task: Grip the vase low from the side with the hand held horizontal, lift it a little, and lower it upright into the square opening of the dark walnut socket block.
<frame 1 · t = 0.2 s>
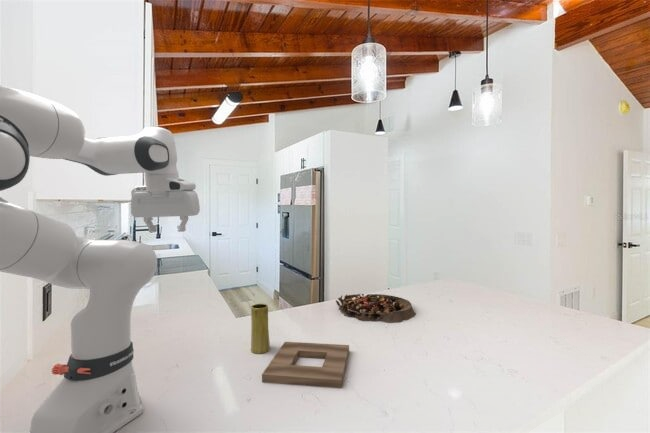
hand: (167, 231, 95), 39 cm above the counter, tool pointing down, fingers open, 8 cm apart
food dish: (374, 311, 142), on the counter
socket: (309, 365, 93), on the counter
vase: (260, 350, 104), on the counter
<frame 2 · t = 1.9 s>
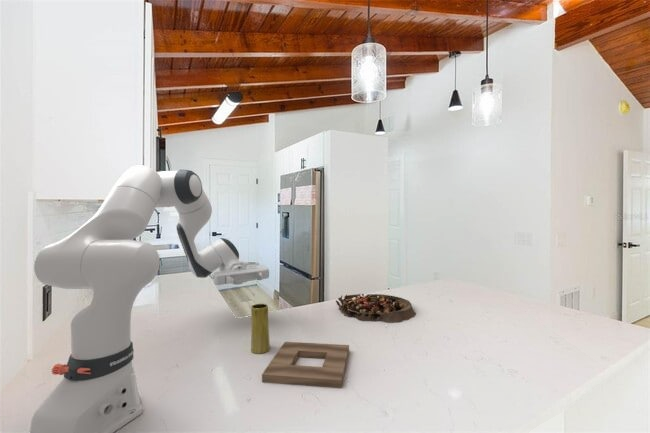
hand: (247, 279, 114), 21 cm above the counter, tool horizontal, fingers open, 8 cm apart
nothing on the counter moved.
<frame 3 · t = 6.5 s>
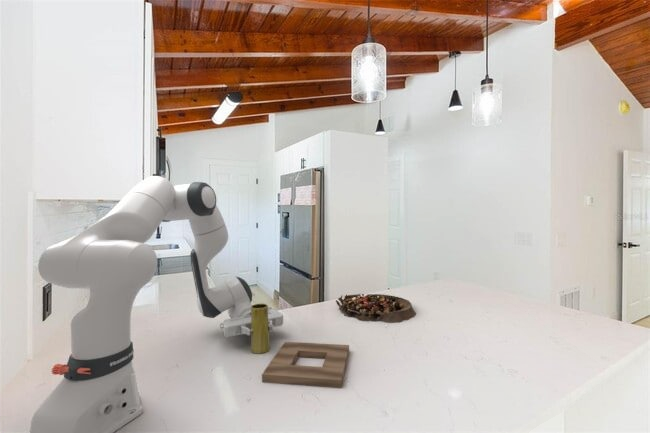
hand: (261, 330, 103), 7 cm above the counter, tool horizontal, fingers closed on vase, 5 cm apart
vase: (260, 350, 104), on the counter, touching gripper
everything else where it was.
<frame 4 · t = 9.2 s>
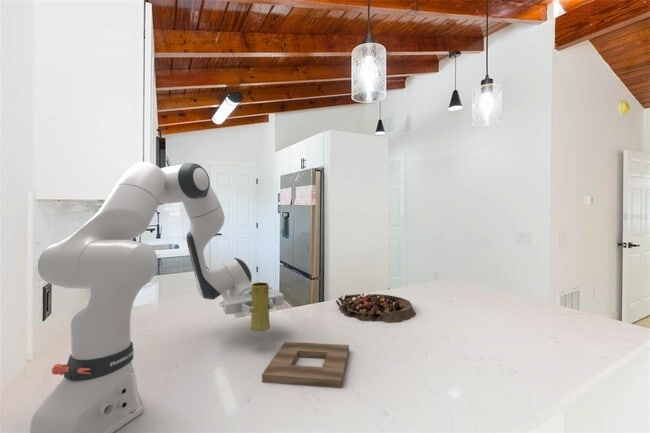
hand: (261, 308, 102), 14 cm above the counter, tool horizontal, fingers closed on vase, 5 cm apart
vase: (260, 328, 103), point 7 cm above the counter, touching gripper
everything else where it was.
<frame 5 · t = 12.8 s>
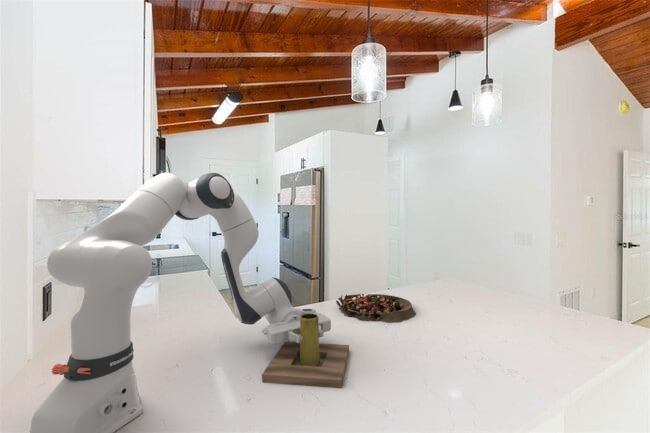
hand: (311, 337, 92), 8 cm above the counter, tool horizontal, fingers closed on vase, 5 cm apart
vase: (310, 365, 93), resting in socket, touching gripper
everything else where it was.
when the fingers open (8 cm above the counter, at t = 13.3 s): vase stays where it is, resting in socket.
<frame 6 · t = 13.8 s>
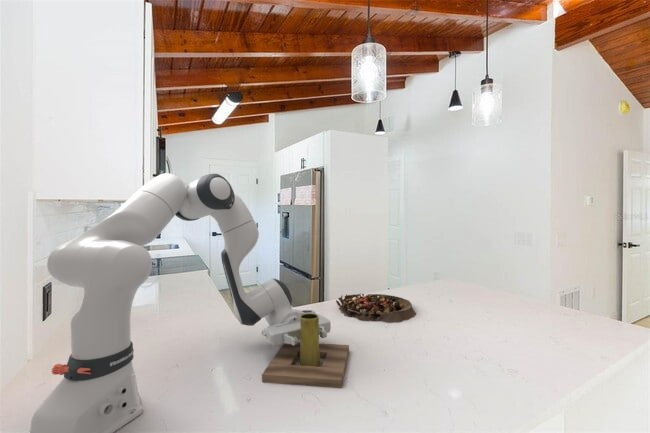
hand: (310, 338, 92), 8 cm above the counter, tool horizontal, fingers open, 8 cm apart
vase: (310, 365, 93), resting in socket
everything else where it was.
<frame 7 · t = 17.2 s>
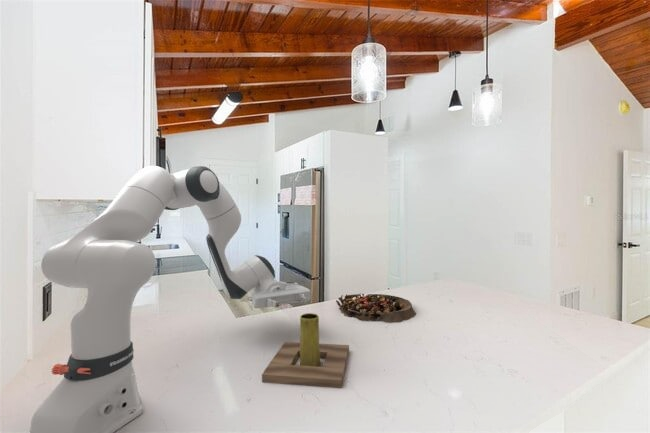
hand: (290, 302, 103), 15 cm above the counter, tool horizontal, fingers open, 8 cm apart
nothing on the counter moved.
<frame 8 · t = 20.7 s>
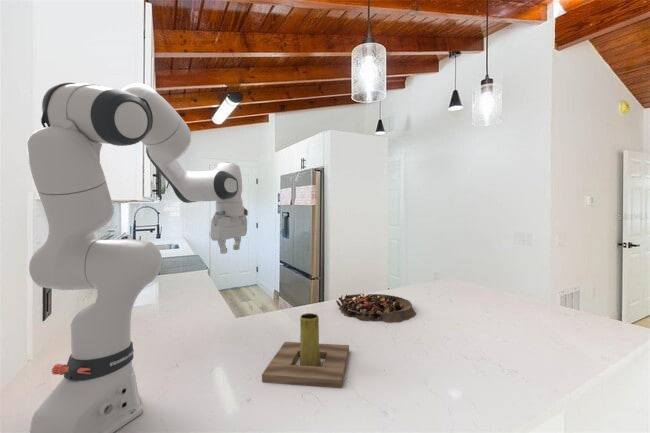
hand: (230, 251, 110), 31 cm above the counter, tool pointing down, fingers open, 8 cm apart
nothing on the counter moved.
at the end: vase 0.3 cm off-centre on the socket, point 0.0 cm above the socket's base; vase tilted 0°; the gripper is holding nothing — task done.
